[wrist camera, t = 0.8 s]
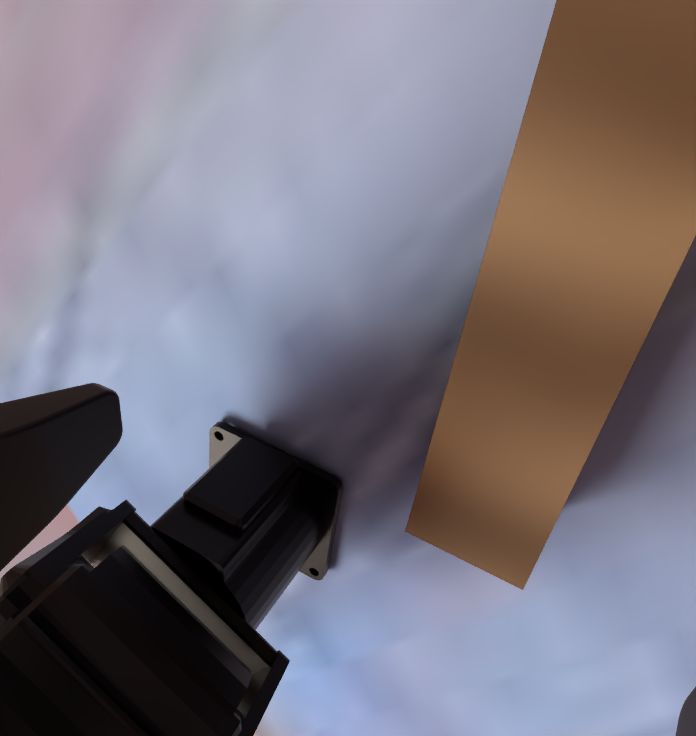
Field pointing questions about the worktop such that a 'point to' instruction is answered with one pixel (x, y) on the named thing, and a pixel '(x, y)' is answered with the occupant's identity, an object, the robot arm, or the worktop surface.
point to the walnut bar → (565, 278)
